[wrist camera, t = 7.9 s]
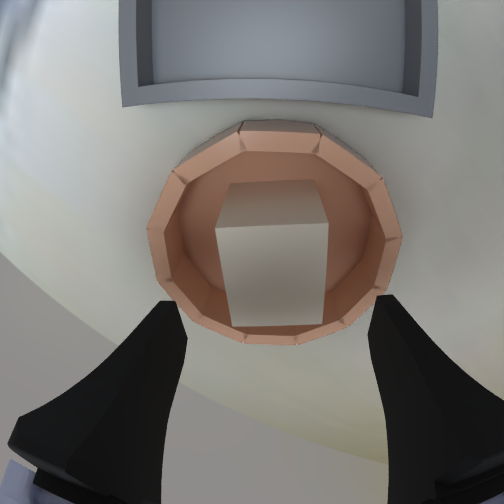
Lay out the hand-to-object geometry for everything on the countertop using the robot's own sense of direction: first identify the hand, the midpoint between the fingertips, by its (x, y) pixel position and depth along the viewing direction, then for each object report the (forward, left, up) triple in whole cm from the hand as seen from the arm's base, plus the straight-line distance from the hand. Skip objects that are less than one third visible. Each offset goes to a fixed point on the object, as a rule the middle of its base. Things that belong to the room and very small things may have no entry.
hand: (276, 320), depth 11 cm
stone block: (0, 0, -6) cm, 6 cm away
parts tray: (0, -13, -7) cm, 15 cm away
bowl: (0, 0, -7) cm, 7 cm away
